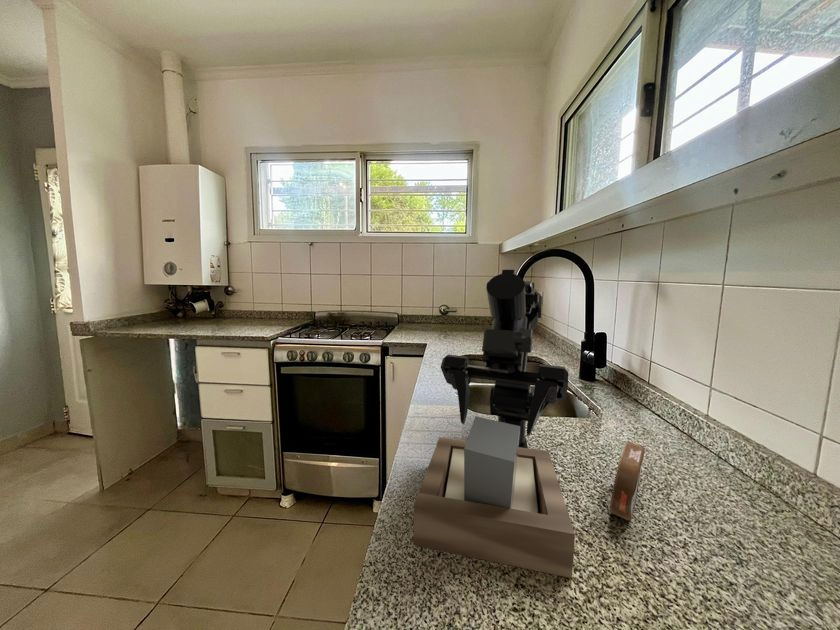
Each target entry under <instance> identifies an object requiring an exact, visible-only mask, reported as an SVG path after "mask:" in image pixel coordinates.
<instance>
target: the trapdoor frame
mask: <svg viewBox="0 0 840 630" xmlns="http://www.w3.org/2000/svg"><path fill="white" fill-rule="evenodd" d="M466 442H467V439H465V440H464V439H458V438H452V437H451V438H450V437H441V436H439V438H438V439H437V443H436V445H435V447H434V451H433V453H432V457H431V459H430V461H429V465H428V467H427V470H426V472H425V474H424V477H423V480H422V483H421V486H420V489H419V491H418V493H417V496H416V499H415V502H414V505H413V544H412V545H413V546H415V547H421V548H425V549H426V548H427V549H429V550H435V551H440V552H444V553H445V552H446V553H450V554H454V555H459V556H464V557H469V558H473V559H474V558H475V559H478V560H482V561H483V560H484V561H487V562H488V561H489V562H493V563H498V564H502V565H507V566H512V567H517V568H522V569H526V570H530V571H536V572H539V573H540V572H541V573H546V574H550V575H555V576H560V577H564V578H570V579H573V569H574V567H573V566H574V553H575V552H574V551H575V540H576V533H575V530H574V527H573V524H572V521H571V517H570V515H569V511H568V508H567V505H566V504H567V503H566V502H565V498H564V495H563V492H562V489H561V486H560V484H559V479H558V477H557V473H556V471H555V467H554V462H553V461H552V457H551V454H550V451H549V450H543V449H535V448H521V447H518V457H521V458H529V459H532V461H533V470H534V479H535V489H536V498H537V507H538V513H534V512H528V511H522V510H516V509H510V508H504V507H498V506H493V505H487V504H481V503H475V502H469V501H463V500H458V499H452V498H446V497H445V495H446V489H447V483H448V477H449V471H450V465H451V459H452V453H453V448H455V449H462V450H464V448H465V445H466Z"/></svg>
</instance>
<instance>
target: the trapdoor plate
mask: <svg viewBox="0 0 840 630" xmlns="http://www.w3.org/2000/svg"><path fill="white" fill-rule="evenodd" d="M445 497H446V498H452V499H458V500H463V501H464V450H462V449H455V448H453V453H452V459H451V465H450V471H449V477H448V483H447V489H446V494H445ZM512 509H516V510H522V511H528V512H534V513H538V507H537V498H536V489H535V479H534V470H533V461H532V459H529V458H521V457H517V468H516V479H515V489H514V497H513V503H512Z"/></svg>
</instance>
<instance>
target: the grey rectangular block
mask: <svg viewBox="0 0 840 630" xmlns="http://www.w3.org/2000/svg"><path fill="white" fill-rule="evenodd" d="M519 435H520V426H517V425H512V424H508V423H503V422H499V421H498V420H493V419H490V418H485V417H480V416H476V415H475V416H474V419H473V422H472V425H471V427H470V430H469V434H468V436H467V439H466V440H467V442H466V445H465V448H464V501H469V502H475V503H481V504H487V505H493V506H498V507H504V508H510V509H512V503H513V497H514V489H515V479H516V468H517V457H518V446H519Z"/></svg>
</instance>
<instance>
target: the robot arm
mask: <svg viewBox="0 0 840 630" xmlns="http://www.w3.org/2000/svg"><path fill="white" fill-rule="evenodd" d="M486 293H487V294H486V295H487V300H488V305H489V307H488V308H489V313H490V316H491V318H492V319H493V322H492V325H491V326H492V327H491V328H487V329H484V331H483V338H482V345H481V346H482V347H481V351H482V352H483V353H482V356H481V357H482V362H483V363H485V364H484V366H480V365H471V364H470V360H469V356H465V355H456V354H447V355H445V356H444V357H443V358H442V361H441V364H440V369H441V372H442V375H443V377H444V379H445V382H446V383H447V384H449V385H451V387H452V389H453V390H455V391H457V397H458V398H457V400H458V410H459V417H460V423H461V424H462V425H465V423H466V419H467V415H468V409H469V403H470V397H471V396H470V395H471V386H470V384H471V381H472V379H479V380H488V381H494V386H492V387H491V389H490V394H489V395H490V396H489V409H490V416H496V417H497V421H499V422H503V423H508V424H512V425H517V426H520V435H519V446H518V447H521V448H528V442H527V438H526V436H527V437H530V436H531V435H532V432H533V431H534V428H535V427H536V424H537V423H538V420H539V418H540V417H541V415H542V414H543V412H544V411H545V409H546V408H547V407H548V405H549V404H552V405H553V404H554V405H555V404H556V403H557V400H558V401H563V400H566V399H567V392H568V387H569V371H568V370H567V368H566V367H565V366H561V365H560V366H559V365H554V364H553V365H550V364H543V363H542V364H541V363H540V364H539V366H538V372H532V371H531V372H530V371H527V364H528V356H529V355H528V354H531V353H532V348H533V331H534V330H535V329H536V328H538V325H539V320H540V319H542V315H543V314H542V313H543V296H542V295H541V294H540V293H539V292H538V291H537V288H536V283H535V282H533V281H527V280H526V281H525V280H524V279H523V278H522V277H521V276H519V275H518V274H516V270H515V269H502V270H501V273H499V274H498V275H496V276H493V277H492V278H491V279H489V281H487V283H486ZM531 386H533V387H534V390H533V392H532V390H531Z"/></svg>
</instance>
